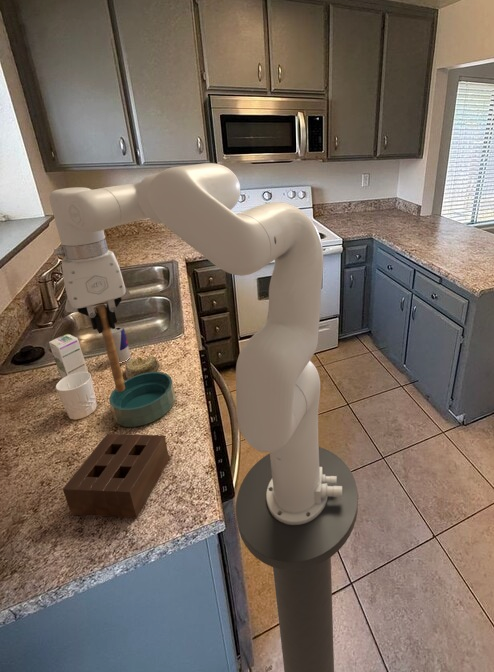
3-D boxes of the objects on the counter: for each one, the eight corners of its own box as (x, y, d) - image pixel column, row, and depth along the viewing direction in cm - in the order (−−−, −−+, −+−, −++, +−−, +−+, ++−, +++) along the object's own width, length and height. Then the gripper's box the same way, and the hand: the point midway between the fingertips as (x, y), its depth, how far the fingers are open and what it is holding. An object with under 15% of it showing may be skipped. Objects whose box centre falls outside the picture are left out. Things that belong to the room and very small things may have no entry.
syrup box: (90, 376, 113) (79, 336, 108) (70, 387, 108) (57, 346, 103) (80, 371, 115) (69, 332, 111) (60, 382, 111) (47, 341, 106)
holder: (169, 458, 83) (164, 435, 81) (136, 518, 70) (129, 492, 68) (113, 456, 84) (107, 433, 82) (71, 514, 71) (62, 489, 69)
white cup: (67, 426, 93) (56, 395, 90) (64, 409, 99) (54, 379, 96) (101, 411, 98) (93, 381, 95) (97, 396, 104) (88, 367, 101)
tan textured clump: (159, 377, 113) (155, 363, 110) (123, 385, 109) (119, 372, 107) (160, 357, 121) (156, 344, 119) (127, 365, 118) (123, 352, 116)
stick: (126, 386, 85) (106, 304, 78) (122, 392, 83) (101, 307, 76) (119, 386, 85) (98, 304, 78) (115, 392, 83) (93, 307, 76)
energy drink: (134, 357, 122) (127, 326, 118) (122, 366, 117) (114, 335, 113) (122, 355, 124) (115, 324, 120) (109, 364, 119) (101, 332, 115)
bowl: (184, 389, 106) (181, 372, 104) (158, 429, 92) (154, 410, 90) (135, 388, 107) (131, 371, 105) (101, 427, 93) (96, 409, 91)
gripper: (39, 263, 65) (65, 349, 71) (133, 245, 75) (149, 322, 81) (35, 254, 70) (60, 335, 76) (123, 238, 80) (139, 311, 86)
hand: (105, 328), depth 79 cm, fingers closed on stick, 1 cm apart
